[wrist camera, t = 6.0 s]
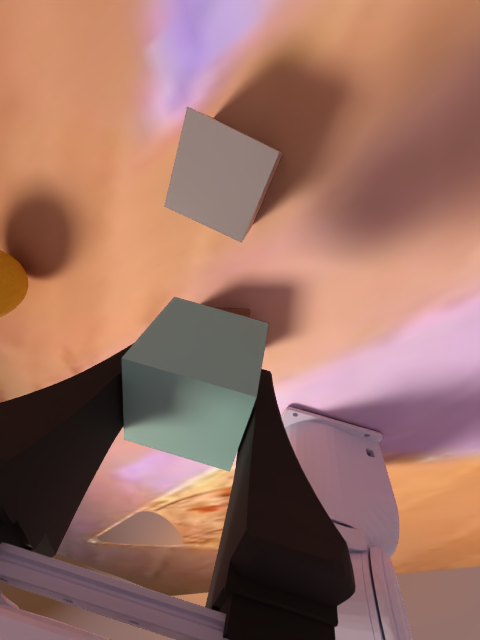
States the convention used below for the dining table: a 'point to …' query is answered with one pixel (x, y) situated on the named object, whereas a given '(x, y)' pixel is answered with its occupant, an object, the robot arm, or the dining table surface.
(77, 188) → the dining table surface
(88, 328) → the dining table surface
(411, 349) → the dining table surface
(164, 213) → the dining table surface
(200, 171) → the grey block
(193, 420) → the teal block
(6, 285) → the lemon
